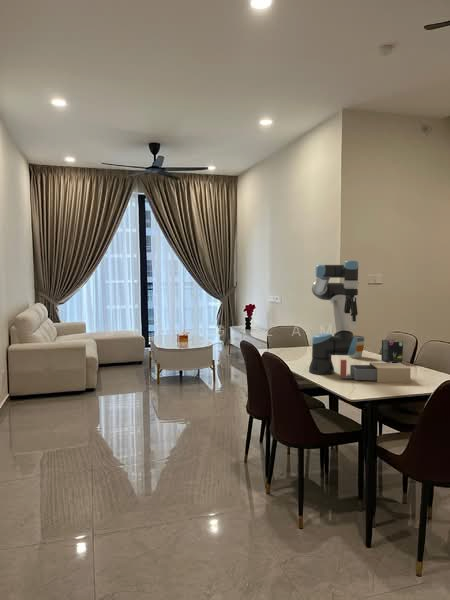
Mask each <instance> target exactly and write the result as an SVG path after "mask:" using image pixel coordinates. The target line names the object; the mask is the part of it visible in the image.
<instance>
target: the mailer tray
mask: <svg viewBox="0 0 450 600" xmlns="http://www.w3.org/2000/svg"><path fill="white" fill-rule="evenodd" d="M347 366H348V365H347V359H340V375H339V377H340V378H341V379H354V380H355V381H375V380H377V368H376V367H374V366H373V365H370V364H363V365H362V364H350V367H349V368H350V370H349V373H350V374H349V375H347Z"/></svg>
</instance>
